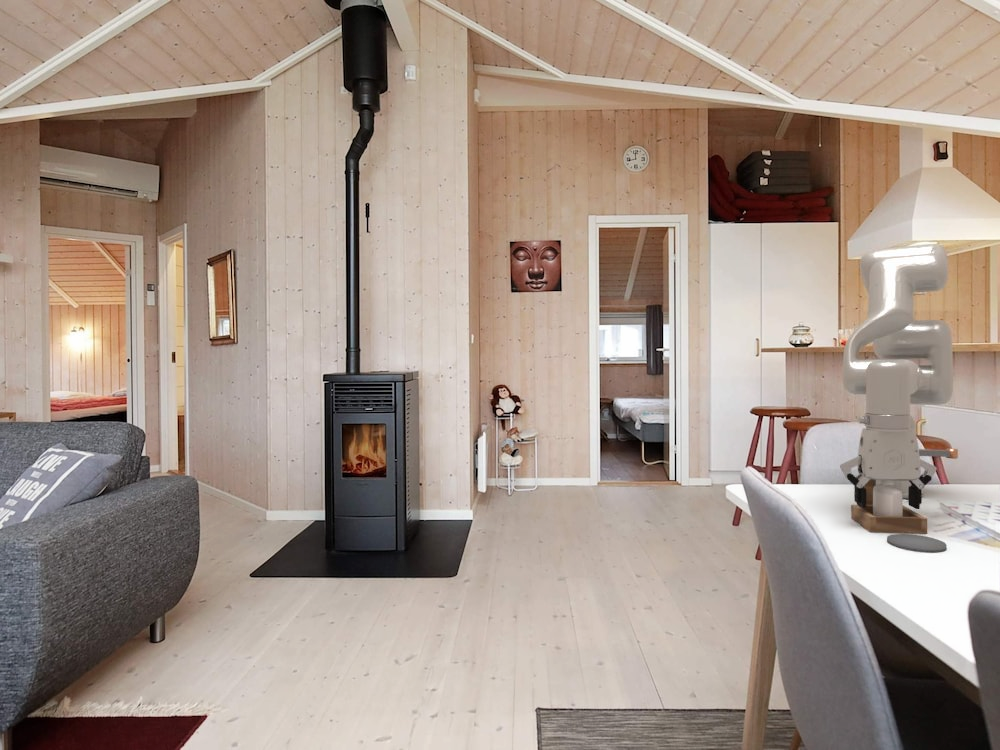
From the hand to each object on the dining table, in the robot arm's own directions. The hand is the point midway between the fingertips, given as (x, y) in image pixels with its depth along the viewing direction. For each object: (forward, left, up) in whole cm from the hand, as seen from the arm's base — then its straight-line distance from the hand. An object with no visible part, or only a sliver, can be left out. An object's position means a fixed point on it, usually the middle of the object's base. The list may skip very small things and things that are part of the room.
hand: (887, 506), depth 123 cm
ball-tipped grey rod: (-9, +8, +9) cm, 15 cm away
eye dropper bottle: (0, 0, -4) cm, 4 cm away
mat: (+12, 0, -4) cm, 13 cm away
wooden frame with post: (-3, 0, -4) cm, 5 cm away
